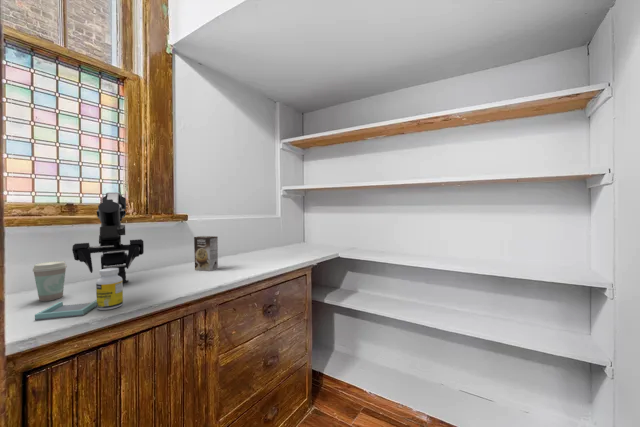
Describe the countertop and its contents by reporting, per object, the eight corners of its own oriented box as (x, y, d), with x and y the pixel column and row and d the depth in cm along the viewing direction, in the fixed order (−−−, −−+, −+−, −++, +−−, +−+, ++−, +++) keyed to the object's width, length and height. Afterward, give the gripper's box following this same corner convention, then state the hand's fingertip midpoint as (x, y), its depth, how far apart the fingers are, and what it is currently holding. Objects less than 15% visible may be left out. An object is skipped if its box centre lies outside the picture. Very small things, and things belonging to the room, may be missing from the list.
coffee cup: (38, 304, 90) (36, 266, 90) (30, 299, 95) (28, 264, 95) (72, 296, 98) (70, 262, 97) (63, 292, 102) (61, 259, 102)
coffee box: (194, 270, 136) (193, 237, 136) (203, 267, 142) (202, 235, 142) (210, 271, 133) (209, 237, 133) (218, 268, 140) (217, 235, 139)
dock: (59, 306, 87) (59, 301, 87) (101, 302, 90) (101, 298, 90) (34, 320, 77) (34, 314, 77) (82, 315, 80) (82, 310, 80)
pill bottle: (91, 309, 85) (90, 270, 84) (114, 302, 91) (113, 266, 90) (105, 312, 82) (104, 272, 82) (128, 304, 88) (126, 267, 88)
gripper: (72, 218, 88) (66, 257, 79) (142, 216, 99) (144, 251, 90) (77, 241, 95) (72, 280, 86) (142, 237, 105) (144, 271, 96)
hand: (109, 270), depth 89 cm, fingers open, 9 cm apart
